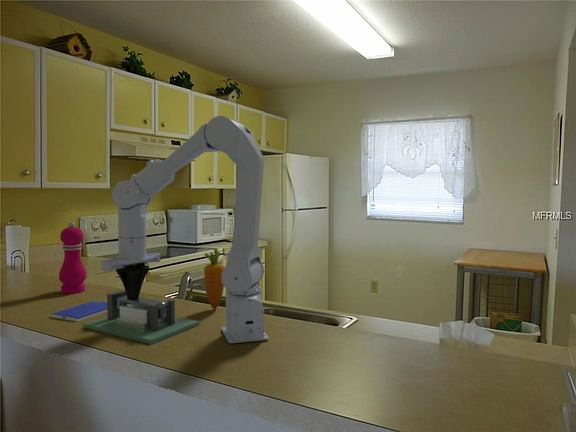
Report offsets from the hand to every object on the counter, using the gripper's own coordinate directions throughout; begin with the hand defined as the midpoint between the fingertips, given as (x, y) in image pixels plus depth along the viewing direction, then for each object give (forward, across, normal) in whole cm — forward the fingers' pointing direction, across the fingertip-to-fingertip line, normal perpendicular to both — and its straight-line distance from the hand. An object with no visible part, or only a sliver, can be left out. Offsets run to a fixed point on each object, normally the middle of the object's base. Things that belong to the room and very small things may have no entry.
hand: (132, 298), depth 97 cm
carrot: (+6, -19, +8) cm, 21 cm away
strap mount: (+5, 0, +2) cm, 5 cm away
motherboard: (+6, 0, +3) cm, 6 cm away
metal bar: (+2, 0, +3) cm, 4 cm away
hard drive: (+7, -1, -17) cm, 18 cm away
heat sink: (+5, 0, +4) cm, 6 cm away
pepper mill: (+6, -13, -39) cm, 41 cm away
